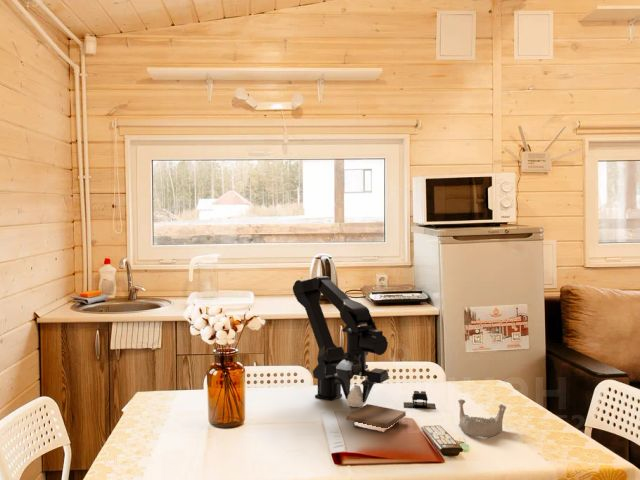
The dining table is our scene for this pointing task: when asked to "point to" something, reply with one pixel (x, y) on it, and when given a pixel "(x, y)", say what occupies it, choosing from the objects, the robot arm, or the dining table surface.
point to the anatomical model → (481, 423)
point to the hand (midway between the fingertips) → (355, 400)
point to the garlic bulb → (355, 397)
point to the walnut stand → (376, 416)
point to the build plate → (419, 404)
